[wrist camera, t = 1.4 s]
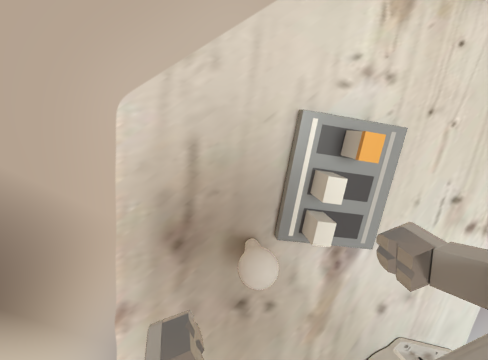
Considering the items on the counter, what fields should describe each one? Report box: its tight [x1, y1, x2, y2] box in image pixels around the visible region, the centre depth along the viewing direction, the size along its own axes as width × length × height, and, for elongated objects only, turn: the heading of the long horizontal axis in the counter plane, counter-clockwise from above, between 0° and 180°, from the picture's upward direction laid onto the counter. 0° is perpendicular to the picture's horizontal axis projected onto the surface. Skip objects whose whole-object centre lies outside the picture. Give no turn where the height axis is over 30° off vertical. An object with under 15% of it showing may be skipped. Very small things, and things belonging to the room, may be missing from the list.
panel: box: [275, 110, 408, 249], centre depth 41 cm, size 18×22×7 cm
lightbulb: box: [238, 238, 279, 290], centre depth 40 cm, size 6×6×11 cm
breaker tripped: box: [341, 130, 386, 163], centre depth 38 cm, size 3×4×5 cm
